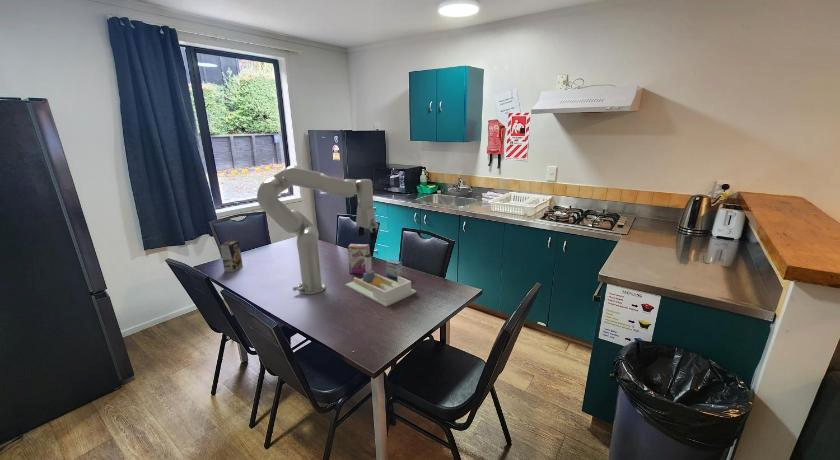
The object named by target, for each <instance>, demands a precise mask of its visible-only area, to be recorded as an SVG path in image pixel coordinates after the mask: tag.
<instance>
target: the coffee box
mask: <svg viewBox="0 0 840 460" xmlns="http://www.w3.org/2000/svg"><path fill="white" fill-rule="evenodd" d="M219 247H220V252H221V260H222V264H223V270H224V272H225V273H226V272H227V273H229V272H233V273H235V272H236V271H238V270H240V269H241V268H242V267H243V259H242V253H241V247H240V240H228V241H225V242H224V243H222V244H221V245H219Z"/></svg>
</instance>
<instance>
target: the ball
mask: <svg viewBox="0 0 840 460" xmlns="http://www.w3.org/2000/svg"><path fill="white" fill-rule="evenodd" d="M372 283H373V285H374V286H379V285H380V284H381V279H380V278H377V277H376V278H374V279H373V281H372Z"/></svg>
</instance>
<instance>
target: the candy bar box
mask: <svg viewBox="0 0 840 460" xmlns="http://www.w3.org/2000/svg"><path fill="white" fill-rule="evenodd" d="M347 249H348V251H347V252H348V269H349V274H359V275H363V273H366V270H365V254H366V253H370V254H371V252H370V251H371V249H370V244H368V243H367V244H363V243H362V244H360V243H350V244H349V245H348V246H347Z"/></svg>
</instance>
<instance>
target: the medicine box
mask: <svg viewBox="0 0 840 460" xmlns="http://www.w3.org/2000/svg"><path fill="white" fill-rule="evenodd" d="M385 264H386V265H385V266H386V268H385V272H386V276H387V278H393V279H397V277H398V276H400V277H403V262H402V261H400V260H394V259H388V260H387V261H385Z"/></svg>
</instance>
